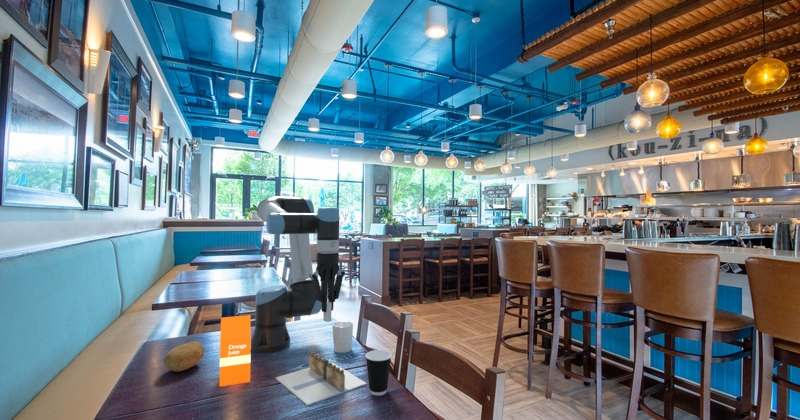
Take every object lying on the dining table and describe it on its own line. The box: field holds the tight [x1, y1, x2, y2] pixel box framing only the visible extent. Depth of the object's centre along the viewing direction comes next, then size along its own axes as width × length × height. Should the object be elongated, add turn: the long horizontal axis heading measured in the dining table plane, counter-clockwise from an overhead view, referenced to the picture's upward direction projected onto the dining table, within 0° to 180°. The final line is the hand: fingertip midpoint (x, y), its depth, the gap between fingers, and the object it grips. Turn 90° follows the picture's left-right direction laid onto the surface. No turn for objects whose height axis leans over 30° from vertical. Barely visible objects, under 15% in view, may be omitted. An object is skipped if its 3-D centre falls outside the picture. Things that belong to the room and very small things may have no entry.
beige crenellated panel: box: [309, 351, 327, 377], centre depth 122 cm, size 9×1×5 cm, turn 41°
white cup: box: [332, 320, 354, 354], centre depth 143 cm, size 8×8×10 cm
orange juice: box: [219, 314, 252, 387], centre depth 117 cm, size 8×9×20 cm
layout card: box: [275, 361, 367, 407], centre depth 116 cm, size 22×20×1 cm
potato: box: [163, 340, 205, 373], centre depth 124 cm, size 10×14×8 cm
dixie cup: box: [364, 349, 393, 396], centre depth 110 cm, size 8×8×11 cm
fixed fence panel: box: [324, 359, 345, 390], centre depth 114 cm, size 11×1×6 cm, turn 41°
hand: (327, 320), depth 126 cm, fingers closed
